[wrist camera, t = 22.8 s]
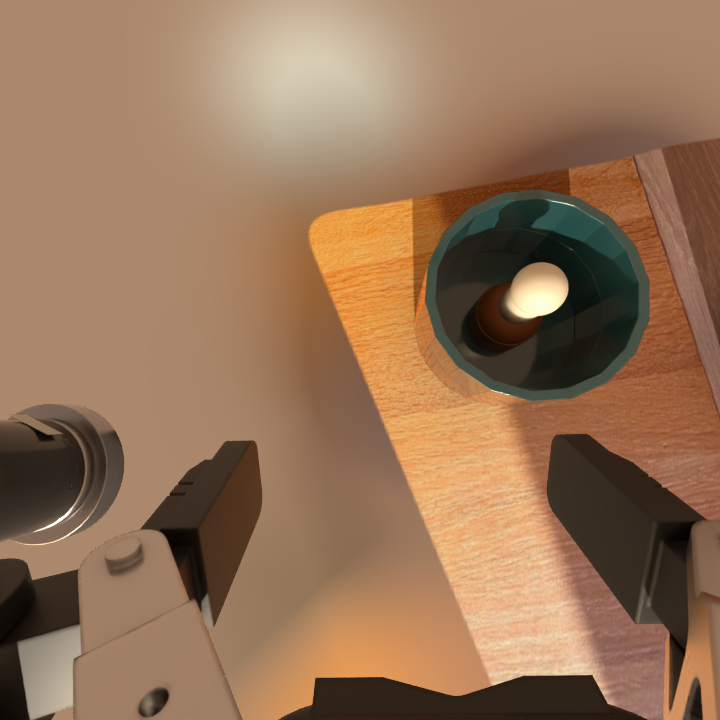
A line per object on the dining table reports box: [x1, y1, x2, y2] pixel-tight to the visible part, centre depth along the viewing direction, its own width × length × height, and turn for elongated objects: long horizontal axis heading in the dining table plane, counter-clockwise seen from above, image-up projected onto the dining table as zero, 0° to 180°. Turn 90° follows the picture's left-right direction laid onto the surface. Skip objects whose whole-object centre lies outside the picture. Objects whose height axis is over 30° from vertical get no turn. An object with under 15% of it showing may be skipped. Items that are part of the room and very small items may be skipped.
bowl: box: [415, 189, 649, 405], centre depth 30 cm, size 14×15×9 cm
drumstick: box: [468, 262, 568, 352], centre depth 29 cm, size 5×5×11 cm
